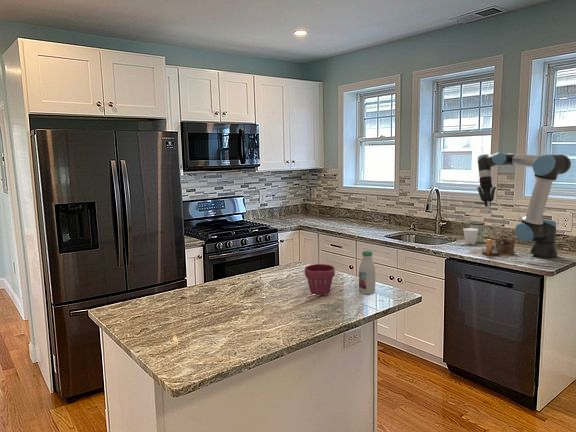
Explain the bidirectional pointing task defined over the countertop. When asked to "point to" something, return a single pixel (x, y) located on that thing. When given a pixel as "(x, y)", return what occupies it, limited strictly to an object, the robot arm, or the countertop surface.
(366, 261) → the milk bottle
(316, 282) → the plant pot
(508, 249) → the stand
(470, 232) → the cup
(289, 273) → the countertop surface
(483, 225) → the glass jar
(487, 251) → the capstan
